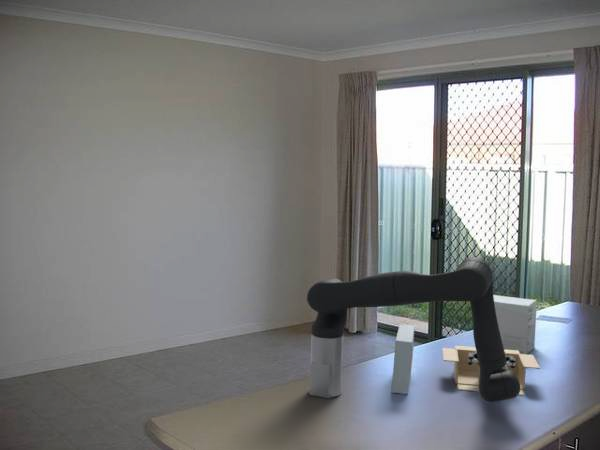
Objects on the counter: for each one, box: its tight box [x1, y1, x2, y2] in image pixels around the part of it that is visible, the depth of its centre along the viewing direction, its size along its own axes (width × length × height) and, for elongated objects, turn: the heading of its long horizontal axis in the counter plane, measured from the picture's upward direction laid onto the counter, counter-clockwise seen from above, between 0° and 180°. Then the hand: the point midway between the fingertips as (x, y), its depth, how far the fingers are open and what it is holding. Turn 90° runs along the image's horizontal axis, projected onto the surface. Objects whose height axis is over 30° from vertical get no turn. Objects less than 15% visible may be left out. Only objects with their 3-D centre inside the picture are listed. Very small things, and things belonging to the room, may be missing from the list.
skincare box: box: [390, 323, 415, 395], centre depth 207 cm, size 21×5×16 cm, turn 168°
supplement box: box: [493, 294, 538, 355], centre depth 249 cm, size 17×13×18 cm
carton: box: [442, 345, 541, 397], centre depth 211 cm, size 22×28×8 cm
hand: (488, 353), depth 213 cm, fingers closed on beverage can, 6 cm apart
